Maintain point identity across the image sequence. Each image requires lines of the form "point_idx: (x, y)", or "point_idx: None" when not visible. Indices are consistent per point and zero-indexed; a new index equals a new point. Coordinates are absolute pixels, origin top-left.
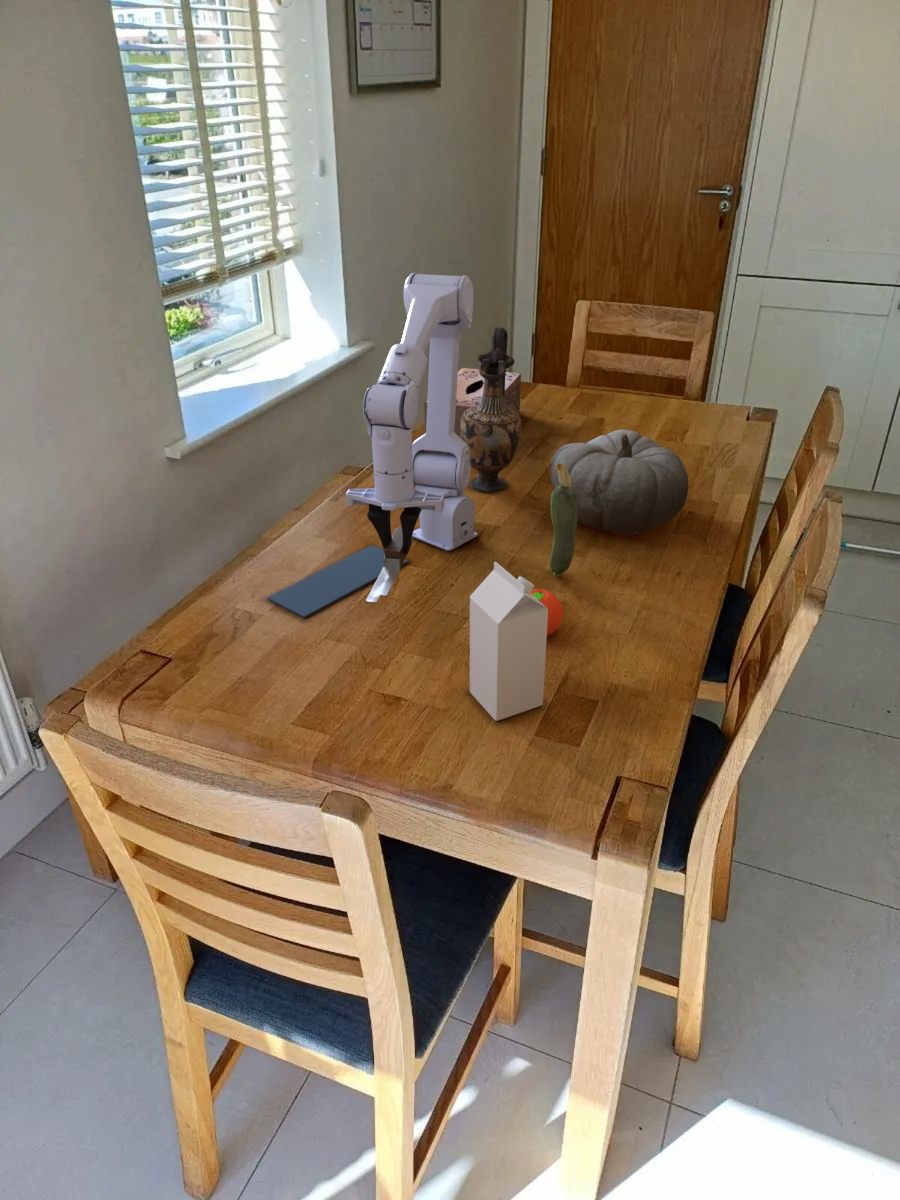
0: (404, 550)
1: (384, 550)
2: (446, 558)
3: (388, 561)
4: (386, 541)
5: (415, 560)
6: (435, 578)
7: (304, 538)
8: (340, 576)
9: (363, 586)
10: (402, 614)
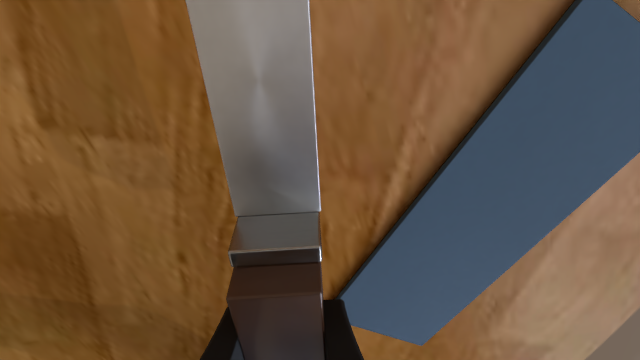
0: None
1: (340, 305)
2: None
3: (292, 235)
4: (327, 357)
5: None
6: None
7: (572, 339)
8: (479, 232)
9: (408, 208)
10: None
